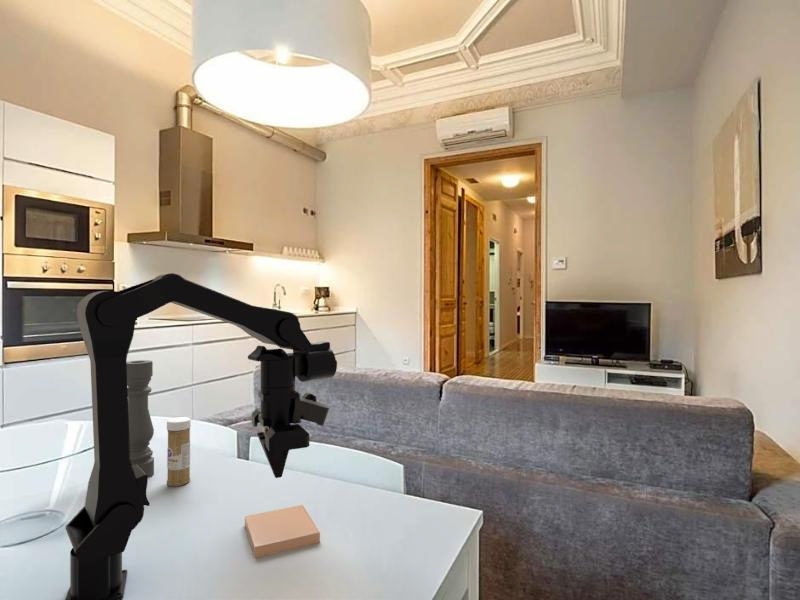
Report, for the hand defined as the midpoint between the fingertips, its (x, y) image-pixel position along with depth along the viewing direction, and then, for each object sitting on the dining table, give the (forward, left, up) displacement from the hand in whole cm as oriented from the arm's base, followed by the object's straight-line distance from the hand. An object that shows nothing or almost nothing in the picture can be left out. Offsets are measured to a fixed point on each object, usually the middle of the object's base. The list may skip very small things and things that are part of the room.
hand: (278, 476), depth 79 cm
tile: (-3, 0, -8) cm, 8 cm away
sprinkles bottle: (+28, +15, -9) cm, 33 cm away
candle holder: (+36, +23, -9) cm, 44 cm away
